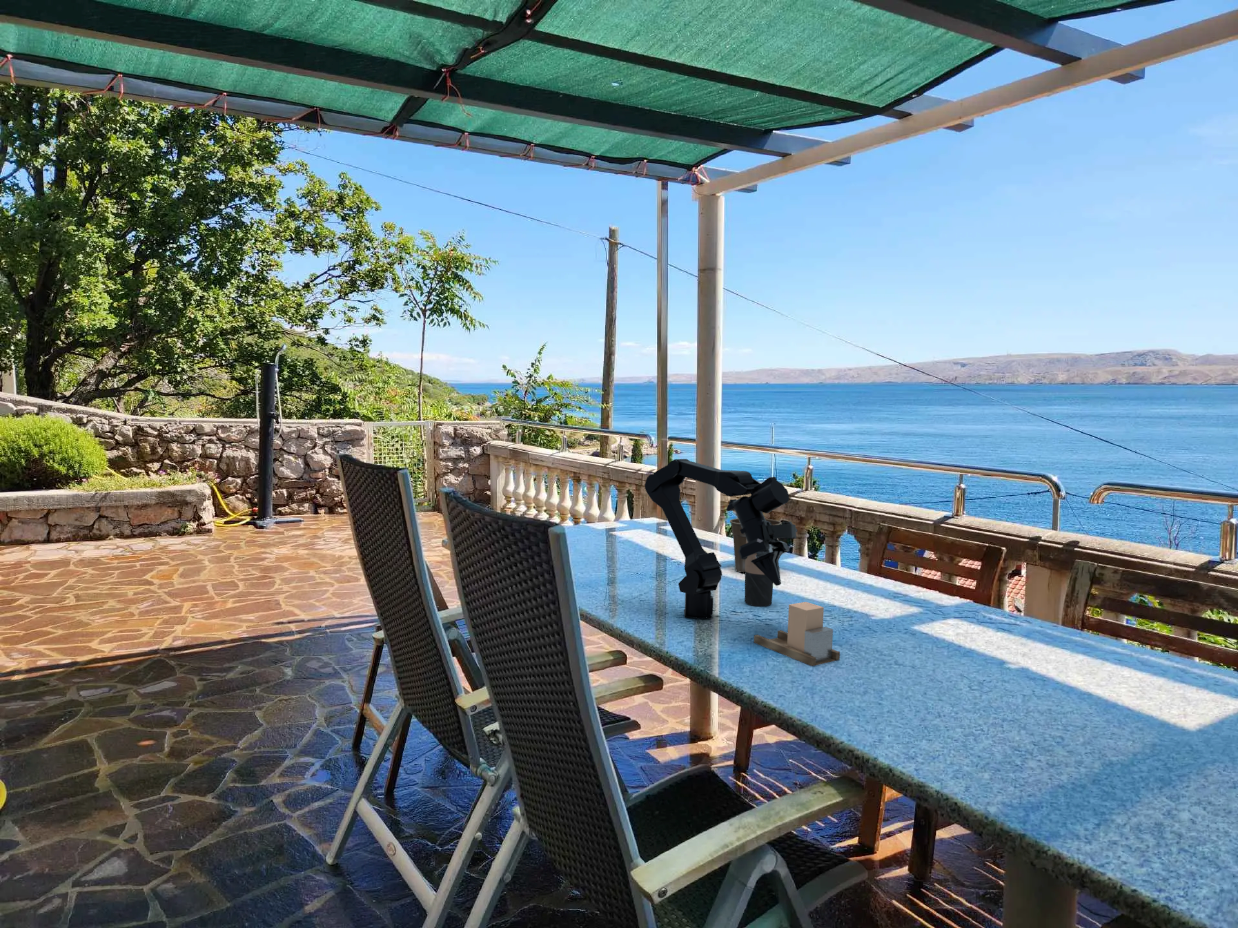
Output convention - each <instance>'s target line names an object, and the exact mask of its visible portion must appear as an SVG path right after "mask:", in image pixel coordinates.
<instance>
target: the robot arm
mask: <svg viewBox="0 0 1238 928" xmlns="http://www.w3.org/2000/svg"><path fill="white" fill-rule="evenodd" d="M686 478H687V479H690V480H693V481H696V482H701V483H704V484H707V485H709V486H712V487H714V488H715V490H716V491H717V492H719V493H721V494H722V495H725V496H726V497H731V498H732V497H738V496H741V497H739V498H738V499H735V498H734V499H729V501H728V505H727V507H726V509H725V510H726V511H727V512H733V511H734V512H735V513H736V516H737V519H739V522H740V524H741V527H742V529H740V531H741V534H745V537H746V539H747V542H748V543H746V544H744V545H742V546H740V548H739V551H738V553H739V555H740V558H741V559H747V557H748V556H750V555H753V554H755V553H756V554H757V555H755V557H756V559H754V560H751V562H752V563H753V564H754V565H755V566H757V567H758V568H759V569H760V570H761V571H762V572H763V573H764V574H765V575H766V576H767V577H768V578H769V579H770V580H771V581H772V582H773V585H775V586H776V587H777V586H780V585H781V584H782V579H781V572H780V571H781V570H780V564H779V560H780V558H781V556H782V555H783V554H785V553H787V552H789V551H790V548H789V546H788V544H787V542H785V541H782V540H780V539H790V540H795V539H797V533H798V529H797V528H796V527H797V526H796V524H793V523H792V521H782V524H781V525H771V523H770V522H769V521H766V520H765V519H766V518H765V516H764V514H769V513H771V512H773V511H774V510H775V511H776V509H778V508H780V507H782V506H784V505H785V504H787V503H788V502H789V500H790V494H789V491H788V488H786V487H785V486H784V485H783V484H782V482H780V481H778V479H777V477H776V476H770V477H767V478H765V480H764V481H762V482H760V481H758V480H757V479H755V478H754V477H753V476H752V474H751V473H750V472H749V471H747V470H732V469H731V470H729V469H728V470H727V469H724V470H723V469H720V468H716V467H713V466H709V465H706V464H702V463H698V462H694V461H693V460H689V459H687V458H678V459H677V458H675V459H673V460H671V461H670V462H669V463H668V464H667V465H664V466H663V467H661V468H659V469H658V470H656V471H655V472H654V473H651V474H649V475H648V476H647V477H646V480H645V483H644V489H645V492H646V494H647V496H649V497H650V500H651V501H652V502H653V503H655V504H656V505H657V507H659V508H661V510H662V512H663V513H664V516H665V518H666V520H667V522H668V524H669V526H670V528H671V530H672V533H673V535H674V536H675V539H676V541H677V543H678V545H679V547H680V549H681V552H682V553H683V556H684V572H685V576H683V578H682V579H681V580H680V581H679V582H678V589H679V592H680V593H683V594H685V595H684V609H683V615H684V618H685V619H706V620H709V619H711V620H712V615H713V614H714V612H713V611H714V596H713V595H712V591H717V588H718V585H719V583H720V582H721V580H722V576H723V571H722V569H721V568H722V564H721V563H720V562H719V560H718V558H717V555H716V553H715V552H707V551H706V550H704V548H703V546H702V544H701V542H700V540H699V537H698V536H697V534H696V532H695V530H694V527H693V525H692V523H691V521H690V520H689V519H690V518H689V517H688V515H687V513H686V511H685V509H684V508H683V505H682V503H681V501H680V499H681V488H680V486H681V484H683V483H684V481H685V479H686ZM747 495H750V496H747Z"/></svg>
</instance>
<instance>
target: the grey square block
mask: <svg viewBox="0 0 1238 928" xmlns="http://www.w3.org/2000/svg"><path fill="white" fill-rule="evenodd" d="M833 637H834V629H833V628H831V627H828V626H823V627H822V628H817V629H812V630H807V631H805V643H804V653H806V654H808V655H811V656H813V657H816V662H819V661H824V660H828V659H832V649H833V642H834V641H833V640H834V639H833Z"/></svg>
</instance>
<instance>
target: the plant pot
mask: <svg viewBox="0 0 1238 928" xmlns="http://www.w3.org/2000/svg"><path fill="white" fill-rule="evenodd" d="M765 520H766V521H769V522H770V523H771V525H781V524H782V523H783V521H782V522H781V521H780V520H777V519H771V518H765ZM729 523H730V525H731V533H732V537H733V539H732V541H733V553H734V570H735V571H736V570H737V571H736V572H737V573H741V572H743V573H742V574H745V573H744V572H745V559H741V558H740V555H739V553H738V551H739V548H740V546H742V545H744V544H746V537H745V534H741V531H740V529H742V527H741V524H740V522H739V519H738V518H733V519H732V518H731V519H730V520H729Z"/></svg>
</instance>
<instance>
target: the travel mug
mask: <svg viewBox="0 0 1238 928" xmlns="http://www.w3.org/2000/svg"><path fill="white" fill-rule="evenodd" d="M746 543H748V542H747V539H746ZM755 555H757V554H756V553H755V554H753V555H750V556H748V557H747V559H745V573H744V603H745V605H748V606H753V607H757V608H758V607H761V608H762V607H769V606H772V603H773V590H774V589H773V588H774V583H773V582H772V581H771V580H770V579H769V578H768V577H767V576H766V575H765V574H764V573H763V572H762V571H761V570H760V569H759V568H758V567H757V566H755V565H754V564H753V563H752V562H751V560H754V559H756V557H755Z"/></svg>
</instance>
